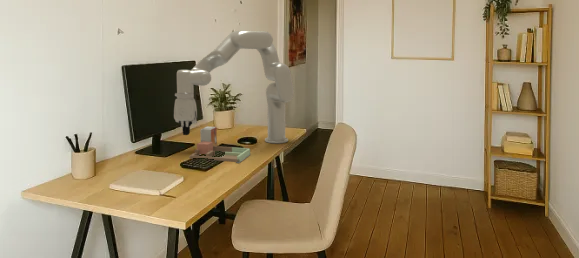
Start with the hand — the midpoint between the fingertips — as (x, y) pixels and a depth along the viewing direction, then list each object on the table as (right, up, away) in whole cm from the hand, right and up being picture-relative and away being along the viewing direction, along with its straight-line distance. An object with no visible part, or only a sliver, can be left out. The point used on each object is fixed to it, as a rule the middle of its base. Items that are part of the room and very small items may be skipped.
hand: (186, 134), depth 204 cm
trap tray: (+17, -10, -5) cm, 21 cm away
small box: (+9, -7, +11) cm, 16 cm away
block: (+9, -9, 0) cm, 13 cm away
